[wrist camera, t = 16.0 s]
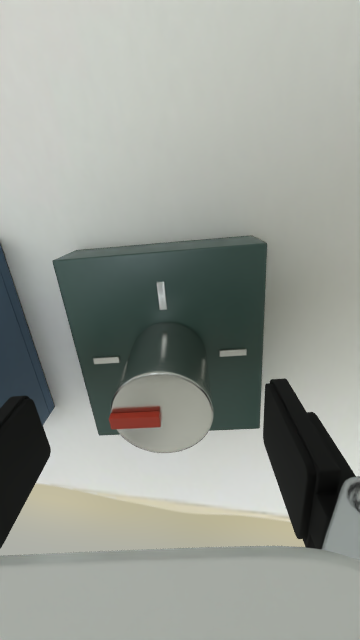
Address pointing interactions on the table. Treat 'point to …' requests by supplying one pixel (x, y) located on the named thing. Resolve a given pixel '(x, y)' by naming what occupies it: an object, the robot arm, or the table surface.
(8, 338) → the basin
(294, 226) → the table surface
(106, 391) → the green dial base
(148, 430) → the rotary dial knob
